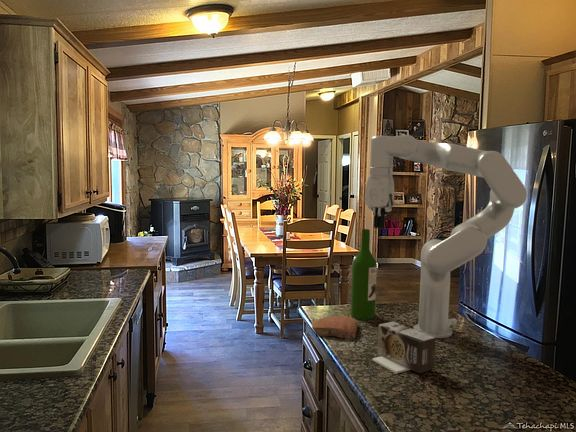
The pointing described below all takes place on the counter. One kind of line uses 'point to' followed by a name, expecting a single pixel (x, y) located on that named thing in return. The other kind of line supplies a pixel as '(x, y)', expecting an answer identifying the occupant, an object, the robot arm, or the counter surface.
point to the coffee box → (406, 346)
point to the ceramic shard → (336, 327)
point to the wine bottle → (364, 281)
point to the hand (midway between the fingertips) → (378, 227)
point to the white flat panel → (390, 364)
